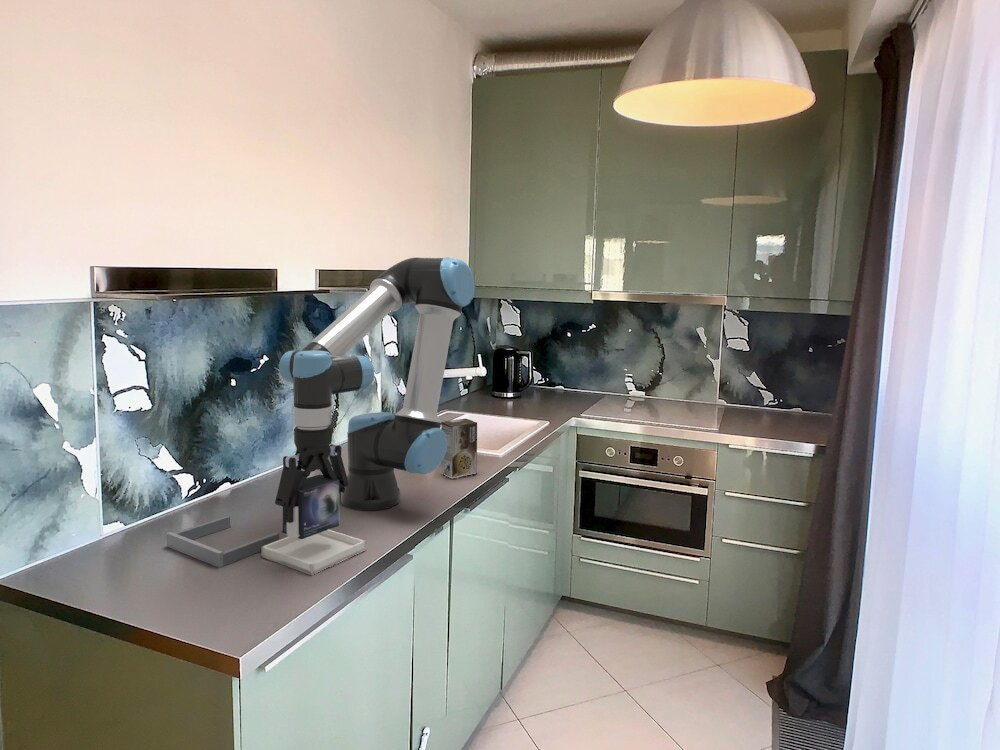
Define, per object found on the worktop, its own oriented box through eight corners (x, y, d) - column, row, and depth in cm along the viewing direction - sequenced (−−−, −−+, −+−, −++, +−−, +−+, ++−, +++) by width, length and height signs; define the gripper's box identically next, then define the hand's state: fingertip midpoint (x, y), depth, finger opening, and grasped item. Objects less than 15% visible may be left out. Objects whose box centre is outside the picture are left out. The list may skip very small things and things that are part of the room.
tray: (317, 534, 158) (316, 525, 158) (366, 550, 150) (366, 541, 150) (261, 556, 146) (261, 546, 145) (312, 575, 138) (311, 565, 137)
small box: (302, 540, 141) (301, 491, 140) (281, 533, 145) (280, 484, 143) (340, 526, 150) (340, 478, 149) (319, 519, 154) (319, 473, 152)
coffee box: (465, 469, 213) (466, 417, 210) (477, 474, 208) (478, 421, 205) (439, 474, 207) (440, 421, 205) (451, 479, 202) (452, 425, 200)
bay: (227, 526, 162) (227, 513, 162) (279, 544, 153) (279, 531, 152) (166, 546, 150) (166, 533, 149) (219, 567, 140) (218, 553, 140)
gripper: (340, 415, 155) (341, 510, 159) (254, 433, 136) (256, 540, 139) (365, 419, 151) (365, 517, 155) (280, 439, 132) (281, 549, 135)
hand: (313, 528), depth 147 cm, fingers closed on small box, 10 cm apart
